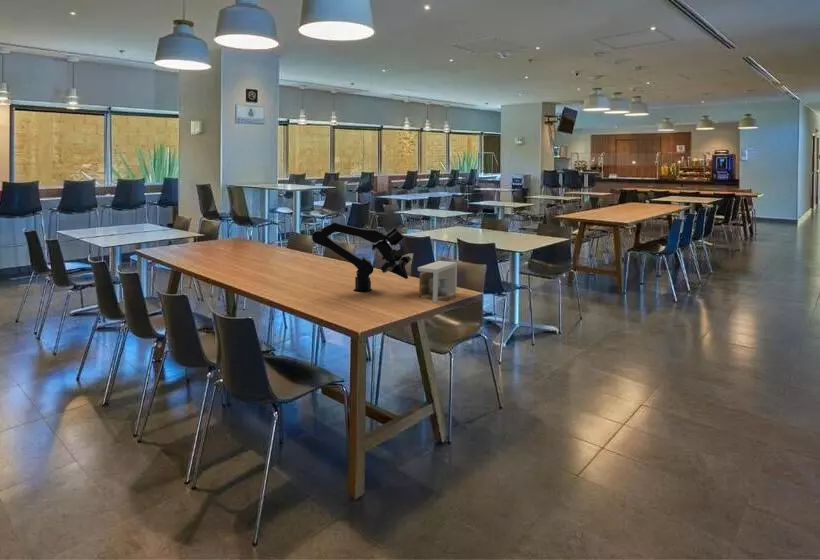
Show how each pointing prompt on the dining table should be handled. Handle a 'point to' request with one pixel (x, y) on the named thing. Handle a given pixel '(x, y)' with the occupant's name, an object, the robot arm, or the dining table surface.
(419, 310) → the dining table surface
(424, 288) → the caddy
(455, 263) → the counter
